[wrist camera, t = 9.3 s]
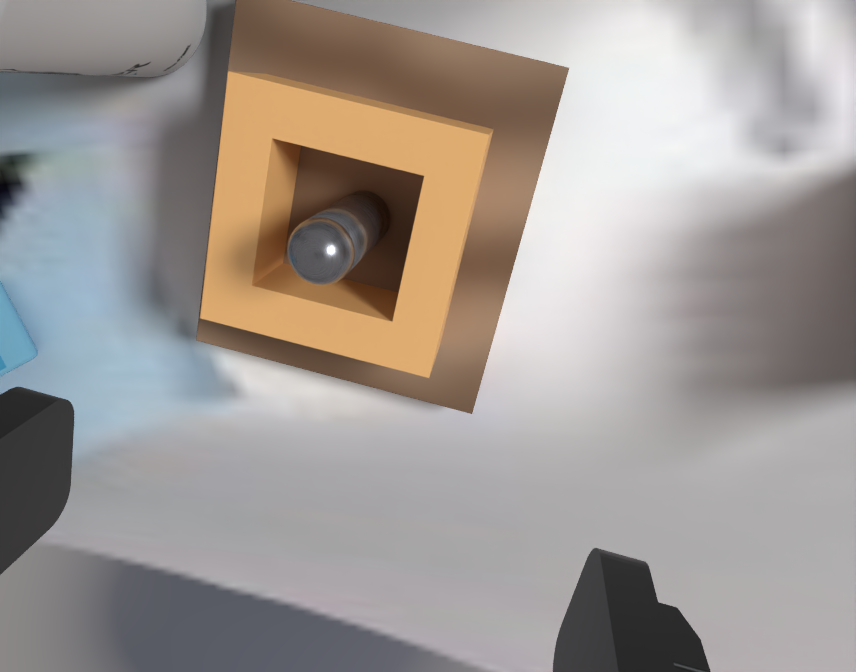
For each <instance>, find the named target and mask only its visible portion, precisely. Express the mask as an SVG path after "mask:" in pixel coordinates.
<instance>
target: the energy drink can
mask: <svg viewBox="0 0 856 672" xmlns="http://www.w3.org/2000/svg"><path fill="white" fill-rule="evenodd" d="M205 23H206V0H0V72H14V73H43V74H71V75H100V76H128V77H156V76H163V75H166V74H168V73H171V72H174V71H175V70H177V69H178V68H180V67H181V66H183V65H184V64H185V63H186V62H187V61H188V60H189V59H190V58H191V57H192V56H193V54H194V52H195V51H196V49H197V48H198V46H199V44H200V41H201V39H202V36H203V33H204V29H205Z"/></svg>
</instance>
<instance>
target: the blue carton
mask: <svg viewBox="0 0 856 672" xmlns="http://www.w3.org/2000/svg"><path fill="white" fill-rule="evenodd" d="M37 354H38V351H37V349H36V347H35V345H34V343H33V341H32V339H31V337H30V336H29V334H28V332H27V330H26V328H25V326H24V324H23V322H22V321H21V319H20V317H19V315H18V313H17V311H16V309H15V307H14V306H13V304H12V302H11V300H10V298H9V296H8V294H7V292H6V291H5V289H4V287H3V285H2V283H1V281H0V376H2V375H4V374H6V373H8V372H10V371H12V370H13V369H15V368H17V367H19V366H21V365H23V364H24V363H26V362H28V361H30V360H32V359H33V358H35V357H36V356H37Z"/></svg>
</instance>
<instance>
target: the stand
mask: <svg viewBox="0 0 856 672" xmlns="http://www.w3.org/2000/svg"><path fill="white" fill-rule="evenodd" d="M568 70H569V68H567V67H563V66H559V65H555V64H551V63H547V62H542V61H538V60H534V59H530V58H526V57H522V56H518V55H514V54H509V53H505V52H501V51H497V50H493V49H489V48H485V47H481V46H476V45H472V44H468V43H464V42H460V41H456V40H452V39H448V38H443V37H439V36H435V35H431V34H427V33H423V32H419V31H415V30H410V29H406V28H402V27H398V26H394V25H390V24H386V23H382V22H377V21H373V20H369V19H365V18H361V17H357V16H353V15H349V14H344V13H340V12H336V11H332V10H328V9H324V8H320V7H316V6H311V5H307V4H303V3H299V2H295V1H291V0H236V5H235V14H234V23H233V31H232V40H231V48H230V57H229V65H228V71H232V72H247V73H262V74H269V75H273V76H277V77H281V78H285V79H289V80H293V81H298V82H302V83H306V84H310V85H314V86H318V87H322V88H326V89H330V90H334V91H339V92H343V93H347V94H351V95H355V96H359V97H363V98H367V99H371V100H376V101H380V102H384V103H388V104H392V105H396V106H400V107H404V108H408V109H413V110H417V111H421V112H425V113H429V114H433V115H437V116H441V117H445V118H450V119H454V120H458V121H462V122H466V123H470V124H474V125H478V126H482V127H487V128H491V129H493V133H492V137H491V141H490V145H489V150H488V154H487V158H486V162H485V166H484V170H483V174H482V178H481V182H480V186H479V190H478V194H477V198H476V202H475V206H474V210H473V214H472V218H471V222H470V226H469V230H468V234H467V238H466V242H465V246H464V250H463V254H462V258H461V262H460V266H459V270H458V274H457V279H456V283H455V287H454V291H453V295H452V299H451V303H450V307H449V311H448V315H447V319H446V323H445V327H444V331H443V335H442V339H441V343H440V347H439V350H438V353H437V356H436V359H435V362H434V365H433V368H432V371H431V374H430V377H429V378H427V377H423V376H419V375H415V374H412V373H408V372H404V371H400V370H396V369H393V368H389V367H385V366H381V365H377V364H373V363H370V362H366V361H362V360H358V359H354V358H350V357H347V356H343V355H339V354H335V353H331V352H327V351H324V350H320V349H316V348H312V347H308V346H304V345H301V344H297V343H293V342H289V341H285V340H282V339H278V338H274V337H270V336H266V335H262V334H259V333H255V332H251V331H247V330H243V329H239V328H236V327H232V326H228V325H224V324H220V323H216V322H213V321H209V320H205V319H201V318H200V315H201V306H202V297H203V288H204V280H205V271H206V262H207V253H208V245H209V236H210V227H211V218H212V210H211V218H210V227H209V236H208V244H207V253H206V261H205V270H204V278H203V287H202V295H201V304H200V312H199V321H198V329H197V338H196V340H197V341H201V342H205V343H208V344H212V345H216V346H220V347H223V348H227V349H231V350H235V351H238V352H242V353H246V354H250V355H253V356H257V357H261V358H265V359H268V360H272V361H276V362H280V363H283V364H287V365H291V366H295V367H298V368H302V369H306V370H310V371H313V372H317V373H321V374H325V375H328V376H332V377H336V378H340V379H343V380H347V381H351V382H355V383H358V384H362V385H366V386H370V387H373V388H377V389H381V390H385V391H388V392H392V393H396V394H400V395H403V396H407V397H411V398H415V399H418V400H422V401H426V402H430V403H433V404H437V405H441V406H445V407H448V408H452V409H456V410H460V411H463V412H467V413H471V414H472V412H473V408H474V405H475V401H476V398H477V394H478V391H479V387H480V383H481V380H482V376H483V373H484V369H485V366H486V362H487V359H488V355H489V351H490V348H491V344H492V341H493V337H494V334H495V330H496V327H497V323H498V319H499V316H500V312H501V309H502V305H503V302H504V298H505V294H506V291H507V287H508V284H509V280H510V277H511V273H512V270H513V266H514V262H515V259H516V255H517V252H518V248H519V245H520V241H521V238H522V234H523V230H524V227H525V223H526V220H527V216H528V213H529V209H530V206H531V202H532V198H533V195H534V191H535V188H536V184H537V181H538V177H539V173H540V170H541V166H542V163H543V159H544V156H545V152H546V149H547V145H548V141H549V138H550V134H551V131H552V127H553V124H554V120H555V117H556V113H557V109H558V106H559V102H560V99H561V95H562V92H563V88H564V84H565V81H566V77H567V74H568ZM227 78H228V74H227ZM226 86H227V82H226ZM225 95H226V91H225ZM224 104H225V99H224ZM223 113H224V108H223ZM222 122H223V116H222ZM221 130H222V125H221ZM220 139H221V133H220ZM219 148H220V142H219ZM218 157H219V150H218ZM217 166H218V159H217ZM216 174H217V167H216ZM423 180H424V176H423V175H419V174H415V173H411V172H407V171H403V170H398V169H394V168H390V167H386V166H382V165H378V164H374V163H370V162H366V161H362V160H358V159H354V158H350V157H346V156H342V155H338V154H334V153H330V152H326V151H322V150H318V149H314V148H310V147H306V146H302V145H301V150H300V156H299V163H298V169H297V176H296V182H295V189H294V195H293V201H292V208H291V214H290V221H289V227H288V234H287V240H286V247H285V253H284V260H283V263H284V264H288V265H291V267H292V269H293V270H294V272H295V273H296V274H297V275H298V276H299V277H300V278H301V279H303V280H305V281H306V282H309V283H311V284H315V285H329V284H333V283H336V282H337V281H339V280H341V279H342V278H343V279H347V280H351V281H355V282H359V283H362V284H366V285H370V286H374V287H378V288H382V289H386V290H390V291H394V292H398V293H399V289H400V285H401V280H402V275H403V271H404V266H405V262H406V257H407V253H408V248H409V244H410V239H411V234H412V230H413V225H414V221H415V216H416V212H417V207H418V202H419V198H420V193H421V189H422V184H423ZM215 183H216V176H215ZM214 192H215V184H214ZM213 201H214V193H213ZM213 201H212V209H213Z"/></svg>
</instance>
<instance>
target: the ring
mask: <svg viewBox="0 0 856 672" xmlns="http://www.w3.org/2000/svg"><path fill="white" fill-rule="evenodd" d="M492 133H493V129H491V128H487V127H482V126H478V125H474V124H470V123H466V122H462V121H458V120H454V119H450V118H445V117H441V116H437V115H433V114H429V113H425V112H421V111H417V110H413V109H408V108H404V107H400V106H396V105H392V104H388V103H384V102H380V101H376V100H371V99H367V98H363V97H359V96H355V95H351V94H347V93H343V92H339V91H334V90H330V89H326V88H322V87H318V86H314V85H310V84H306V83H302V82H298V81H293V80H289V79H285V78H281V77H277V76H273V75H269V74H262V73H247V72H232V71H228V78H227V86H226V95H225V104H224V113H223V122H222V130H221V139H220V148H219V157H218V166H217V174H216V183H215V192H214V201H213V209H212V218H211V227H210V236H209V245H208V253H207V262H206V271H205V280H204V288H203V297H202V306H201V315H200V318H201V319H205V320H209V321H213V322H216V323H220V324H224V325H228V326H232V327H236V328H239V329H243V330H247V331H251V332H255V333H259V334H262V335H266V336H270V337H274V338H278V339H282V340H285V341H289V342H293V343H297V344H301V345H304V346H308V347H312V348H316V349H320V350H324V351H327V352H331V353H335V354H339V355H343V356H347V357H350V358H354V359H358V360H362V361H366V362H370V363H373V364H377V365H381V366H385V367H389V368H393V369H396V370H400V371H404V372H408V373H412V374H415V375H419V376H423V377H427V378H429V377H430V374H431V371H432V368H433V365H434V362H435V359H436V356H437V353H438V350H439V347H440V343H441V339H442V335H443V331H444V327H445V323H446V319H447V315H448V311H449V307H450V303H451V299H452V295H453V291H454V287H455V283H456V279H457V274H458V270H459V266H460V262H461V258H462V254H463V250H464V246H465V242H466V238H467V234H468V230H469V226H470V222H471V218H472V214H473V210H474V206H475V202H476V198H477V194H478V190H479V186H480V182H481V178H482V174H483V170H484V166H485V162H486V158H487V154H488V150H489V145H490V141H491V137H492ZM301 145H302V146H306V147H310V148H314V149H318V150H322V151H326V152H330V153H334V154H338V155H342V156H346V157H350V158H354V159H358V160H362V161H366V162H370V163H374V164H378V165H382V166H386V167H390V168H394V169H398V170H403V171H407V172H411V173H415V174H419V175H423V176H424V180H423V184H422V189H421V193H420V198H419V202H418V207H417V212H416V216H415V221H414V225H413V230H412V234H411V239H410V244H409V248H408V253H407V257H406V262H405V266H404V271H403V275H402V280H401V285H400V289H399V293H398V292H394V291H390V290H386V289H382V288H378V287H374V286H370V285H366V284H362V283H359V282H355V281H351V280H347V279H343V278H342V279H341V280H339V281H337V282H336V283H333V284H329V285H315V284H311V283H309V282H306V281H305V280H303V279H301V278H300V277H299V276H298V275H297V274H296V273H295V272H294V270H293V269H292V267H291V265H288V264H284V263H283V260H284V253H285V247H286V240H287V234H288V227H289V221H290V214H291V208H292V201H293V195H294V189H295V182H296V176H297V169H298V163H299V156H300V150H301Z"/></svg>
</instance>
